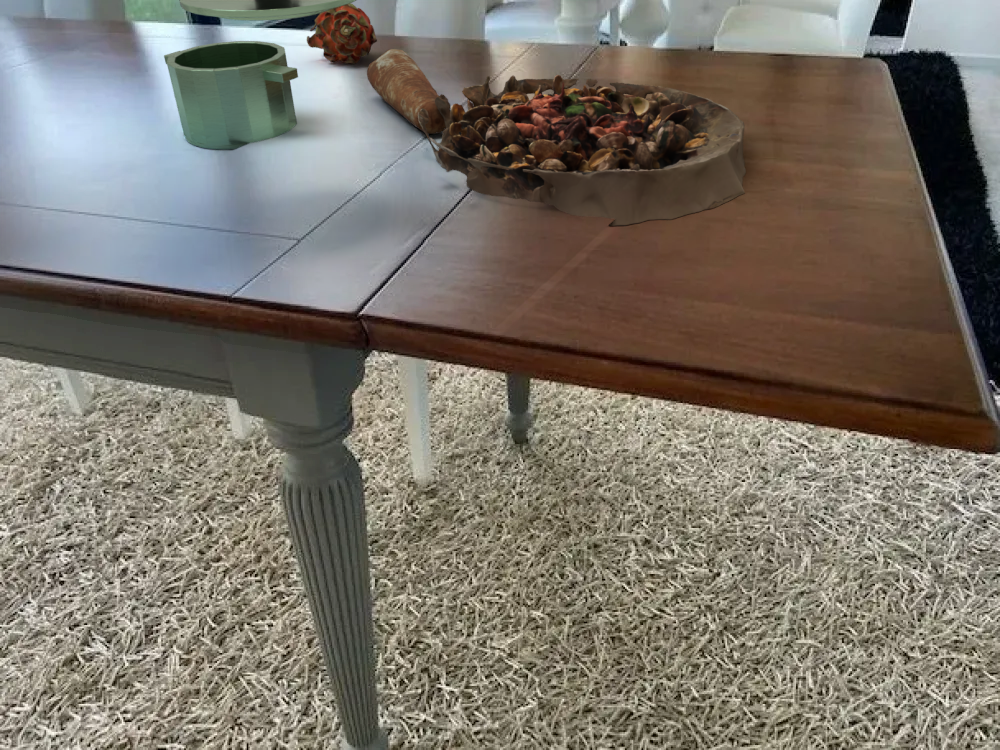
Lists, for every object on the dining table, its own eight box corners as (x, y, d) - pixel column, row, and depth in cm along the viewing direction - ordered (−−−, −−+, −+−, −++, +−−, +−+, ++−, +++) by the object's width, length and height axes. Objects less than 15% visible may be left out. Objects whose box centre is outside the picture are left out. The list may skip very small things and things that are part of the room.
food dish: (387, 136, 99) (381, 66, 94) (640, 103, 108) (644, 39, 104) (494, 250, 71) (491, 158, 67) (821, 193, 80) (837, 109, 76)
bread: (415, 90, 110) (412, 45, 107) (458, 136, 95) (456, 85, 92) (367, 96, 109) (363, 50, 106) (403, 143, 94) (399, 92, 91)
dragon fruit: (366, 81, 120) (327, 77, 129) (401, 35, 121) (360, 34, 130) (323, 36, 114) (286, 34, 123) (361, -12, 115) (321, -10, 124)
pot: (261, 160, 91) (245, 79, 86) (145, 135, 98) (125, 59, 94) (337, 125, 99) (326, 50, 95) (225, 105, 107) (210, 34, 102)
